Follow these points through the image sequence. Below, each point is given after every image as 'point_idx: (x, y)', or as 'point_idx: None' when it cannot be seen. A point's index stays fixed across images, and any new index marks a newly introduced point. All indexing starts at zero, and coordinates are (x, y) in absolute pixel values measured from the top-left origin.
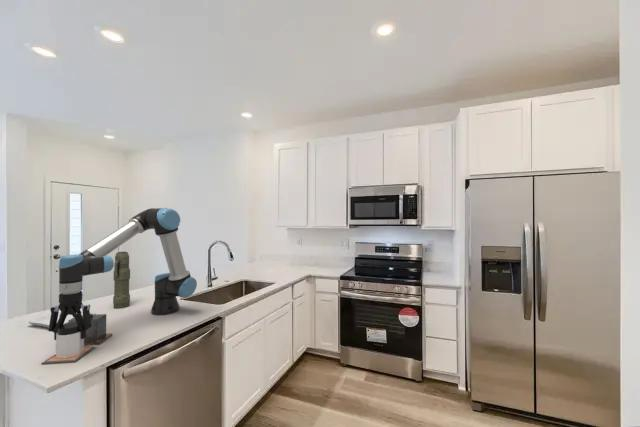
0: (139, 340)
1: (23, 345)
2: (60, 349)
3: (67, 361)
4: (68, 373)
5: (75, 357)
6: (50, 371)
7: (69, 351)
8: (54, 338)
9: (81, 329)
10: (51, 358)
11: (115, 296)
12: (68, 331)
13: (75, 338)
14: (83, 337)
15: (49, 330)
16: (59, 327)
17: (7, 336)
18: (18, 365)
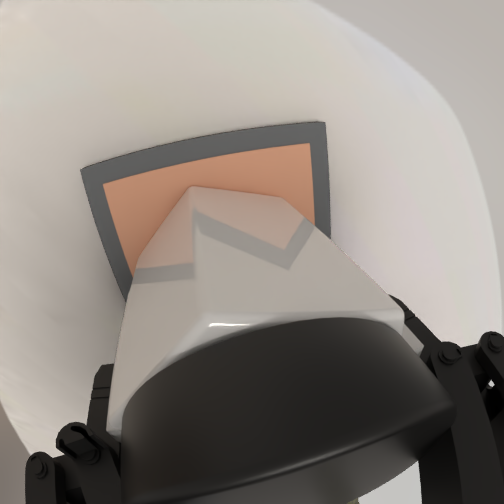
0: (39, 410)
1: (474, 303)
2: (255, 214)
3: (135, 152)
4: (20, 41)
5: (129, 218)
6: (159, 27)
7: (171, 227)
8: (401, 305)
9: (87, 463)
10: (308, 187)
11: (352, 501)
12: (181, 420)
13: (129, 342)
14: (97, 376)
15: (496, 338)
16: (439, 428)
17: (499, 327)
18: (428, 130)
